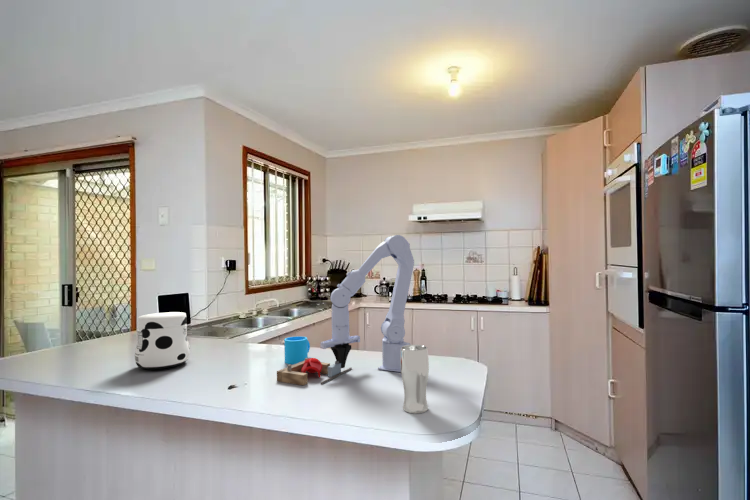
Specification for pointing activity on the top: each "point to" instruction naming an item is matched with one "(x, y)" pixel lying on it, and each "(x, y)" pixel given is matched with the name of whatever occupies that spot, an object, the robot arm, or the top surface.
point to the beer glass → (414, 377)
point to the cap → (312, 366)
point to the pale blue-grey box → (334, 369)
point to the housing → (296, 377)
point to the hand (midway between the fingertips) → (341, 367)
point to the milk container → (162, 340)
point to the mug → (296, 349)
